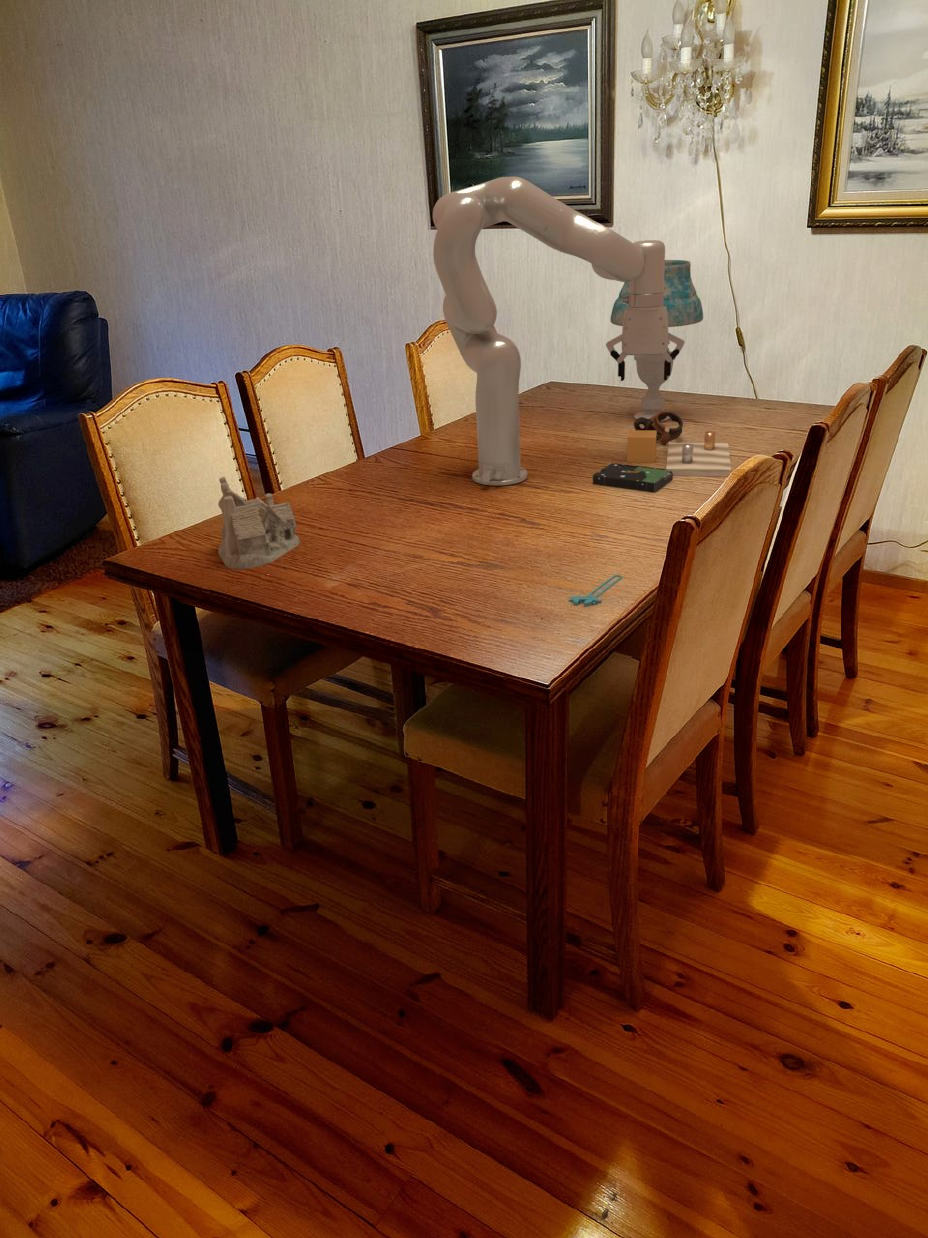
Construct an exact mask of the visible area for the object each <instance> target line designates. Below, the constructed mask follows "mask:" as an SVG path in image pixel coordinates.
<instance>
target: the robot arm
mask: <svg viewBox="0 0 928 1238" xmlns="http://www.w3.org/2000/svg"><path fill="white" fill-rule="evenodd" d="M432 221H433V224H434V226H435V228H436V229H437V230H436V233H435V238H434V241H433V248H432V250H433V255H432V256H433V263H434V268H435V271H436V273H437V276H438V279H439V281H440V284H441V286H442V289H443V291H444V294H445V296H444V298H443V300H442V301H443V302H442V312H443V316H444V320H445V323H446V325H447V327H448V329H449V331H450V333H451V336H452V337H453V340H454V343H455V345H456V346H457V349H458V351H459V353H460V355H461V357H462V359H463V361H464V362H465V364H466V365H467V366H468V367H469V369H470V370H472V371H473V372H475V373H476V383H475V384H476V385H475V415H476V416H475V417H476V435H477V436H476V439H477V440H476V441H477V460H478V469H476V470H475V471H473V472H472V475H471V479H472V481H473V482H475V483H477V484H481V485H484V486H491V487H492V486H494V487H495V486H498V487H499V486H509V485H515V484H518V483H521V482H523V481H526V479H527V478H528V470H527V469H525V468H524V467H521V439H520V437H521V435H520V432H521V431H520V402H519V401H520V399H519V398H520V396H519V395H520V394H519V389H520V387H519V386H520V379H521V378H520V377H521V367H522V361H521V354H520V351H519V349H518V347H517V346H516V344H515V343H514V341H512V340H511V339H510V338H509V337H507V336H504V335H503V334H500V333H498V332H497V329H496V327H495V324H496V320H497V314H498V311H497V310H498V309H497V305H496V302H495V300H494V297H493V296H492V294H491V292H490V290H489V288H488V284H487V283H486V280H485V278H484V275H483V273H482V270H481V269H480V266H479V262H478V259H477V255H476V243H477V240H478V237H479V235H480V233H481V232H482V230H483V229H484V228H487V227H490V226H492V225H496V224H498V223H503V222H507V223H509V224H511V225H513V226H514V227H516V228H518V229H520V230H521V231H523V232H524V233H526V234H528V235H529V236H531V237H533V238H534V239H537V240H538V241H539V242H541V243H542V244H544V245H546V246H547V247H549V248H551V249H553V250H556V251H558V252H560V253H563V254H566V255H570V256H573V257H577V258H579V259H581V260H583V261H586V262H588V263H590V264H591V268H592V270H593V271H594V273H595V274H596V275H597V276H598V277H600V278H602V279H605V280H610V281H616V282H620V283H624V282H629V294H628V296H622V303H627V304H629V307H627V308H626V309H625V312H624V318H623V326H622V330H621V334H620V335H618V336H616V337H614V338H612V339H610V340H609V341H607V342H606V343H605V347H606V348H607V350H608V352H609V355H610V356H611V357H612V358H613V359H614V360H615V361H616V363H617V377H619V378H620V382H624V381H625V378H626V377H625V376H626V361H625V359H626V357H628V356H634V355H661V354H662V356H663V357H664V358H665V362H664V380H667V376H670V377H671V375H670V372H671V361H672V360H673V359H674V358H675V357H676V358H677V356H678V355H679V354H680V352H681V351H682V349H683V347H684V345H685V340H684V339H682V338H680V337H678V336H676V335H674V334H672V333H670V332H669V327H668V315H667V308H666V306H663V299H664V270H665V260H666V246H665V243H664V242H663V241H661V240H657V239H649V240H648V239H647V240H638V241H635V242H632V241H630V240H628V239H627V238H626V237H624V236H622V235H621V234H619V233H618V232H616V231H614V230H613V229H611V228H609V227H607V226H605V225H603V224H601V223H599V222H597V221H595V220H593V219H592V218H590V217H588V216H587V215H585V214H583V213H581V212H579V211H577V210H576V209H574V208H571V207H570V206H569V205H567V204H565V203H563V202H562V201H561V200H558V199H557V198H555V197H554V196H552V195H550V194H549V193H547V191H544V190H543V189H541V188H540V187H539V186H536V185H535V184H533V183H532V182H530V181H528V180H527V179H525V178H522V177H519V176H502V177H497V178H495V179H491V180H488V181H485V182H482V183H479V184H477V185H472V186H469V187H465V188H462V189H458V190H456V191H455V190H454V191H452V192H448V193H446V194H444V195H443V196H441V197H440V198H439V199H438V200H437V201H436V203H435V205H434V207H433V209H432ZM668 340H669V341H670V343H671V342H672V343H674V344H675V345H676V346H675V348H674V350H672V351H671V353H669V352H668V350H667V349H668V348H669V345H668ZM620 343H621V352H620V353H618V351H617V350H616V349H615V345H617V344H620ZM673 361H674V360H673ZM671 373H672V372H671ZM667 381H668V380H667Z"/></svg>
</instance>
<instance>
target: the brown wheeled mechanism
mask: <svg viewBox="0 0 928 1238" xmlns="http://www.w3.org/2000/svg"><path fill="white" fill-rule="evenodd" d="M667 416H668V417H670V421H671V422H674V423H677V424H678V427H674V428H671V427H670V428H669V430H668V431H667V430H666V426H665V425H664V424H662V422H661V420H664V419H665V418H667ZM641 425H643V426H644V427H641ZM683 425H684V423H683V419H682V418H681V417H680V416H679V415H678V414H676V413H674V412H671V411H668V410H661V411H660V412H658V413H657V414H656V415H655V416H653V417H651V418H650V419H647V418H644V417H640V418H638V419H635V421H634V422H633V428H634V429H635V430H657V435H658V436H661V439H660V440H659V443H660V444H661V445H663V446H666V445H667V444H669V442H672V441H674V440H677V439H678V438H680V437H681V436H682V435H681V434H682V433H683Z"/></svg>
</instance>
